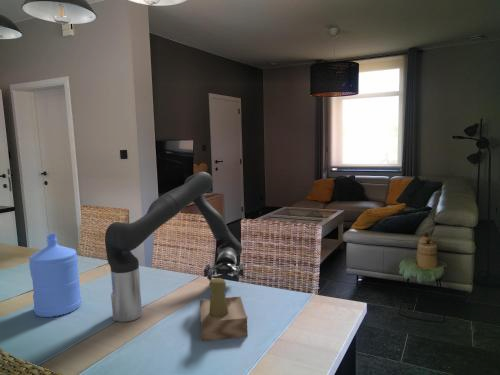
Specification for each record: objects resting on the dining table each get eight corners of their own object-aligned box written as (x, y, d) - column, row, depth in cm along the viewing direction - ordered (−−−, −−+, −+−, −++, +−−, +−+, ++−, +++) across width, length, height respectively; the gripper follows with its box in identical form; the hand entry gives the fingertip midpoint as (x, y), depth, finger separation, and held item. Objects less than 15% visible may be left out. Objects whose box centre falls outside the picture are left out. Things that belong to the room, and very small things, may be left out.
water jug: (91, 303, 141) (84, 231, 138) (54, 321, 127) (46, 242, 123) (62, 297, 148) (56, 228, 144) (24, 314, 134) (16, 238, 130)
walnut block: (201, 341, 112) (200, 322, 111) (200, 316, 127) (199, 300, 127) (247, 336, 114) (247, 317, 113) (240, 312, 129) (240, 296, 129)
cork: (225, 318, 113) (223, 283, 112) (206, 316, 114) (204, 282, 113) (230, 309, 119) (229, 276, 118) (212, 307, 120) (211, 275, 119)
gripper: (207, 253, 143) (201, 267, 127) (244, 252, 142) (242, 266, 126) (208, 272, 144) (202, 288, 128) (245, 271, 143) (243, 287, 127)
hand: (222, 277), depth 127 cm, fingers open, 8 cm apart
